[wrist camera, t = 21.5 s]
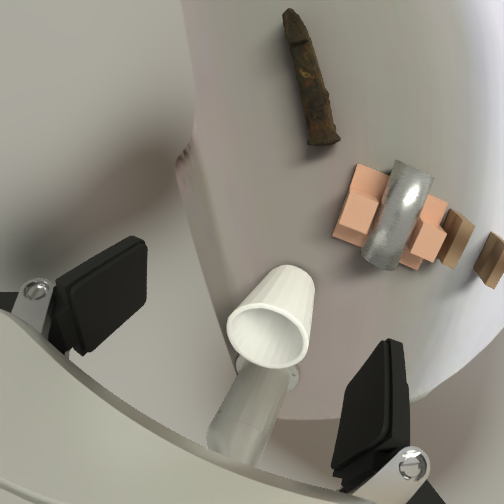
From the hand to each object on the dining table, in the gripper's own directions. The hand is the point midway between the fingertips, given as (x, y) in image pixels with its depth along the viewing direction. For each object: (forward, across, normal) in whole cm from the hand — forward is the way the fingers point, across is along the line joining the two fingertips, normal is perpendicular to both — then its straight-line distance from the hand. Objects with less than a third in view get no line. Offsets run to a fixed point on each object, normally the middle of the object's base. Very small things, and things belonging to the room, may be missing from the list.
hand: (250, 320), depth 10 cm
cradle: (+28, -10, +1) cm, 30 cm away
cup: (+28, 0, +16) cm, 33 cm away
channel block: (+28, -22, 0) cm, 36 cm away
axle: (+27, -9, 0) cm, 29 cm away
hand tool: (+29, +6, -13) cm, 32 cm away
